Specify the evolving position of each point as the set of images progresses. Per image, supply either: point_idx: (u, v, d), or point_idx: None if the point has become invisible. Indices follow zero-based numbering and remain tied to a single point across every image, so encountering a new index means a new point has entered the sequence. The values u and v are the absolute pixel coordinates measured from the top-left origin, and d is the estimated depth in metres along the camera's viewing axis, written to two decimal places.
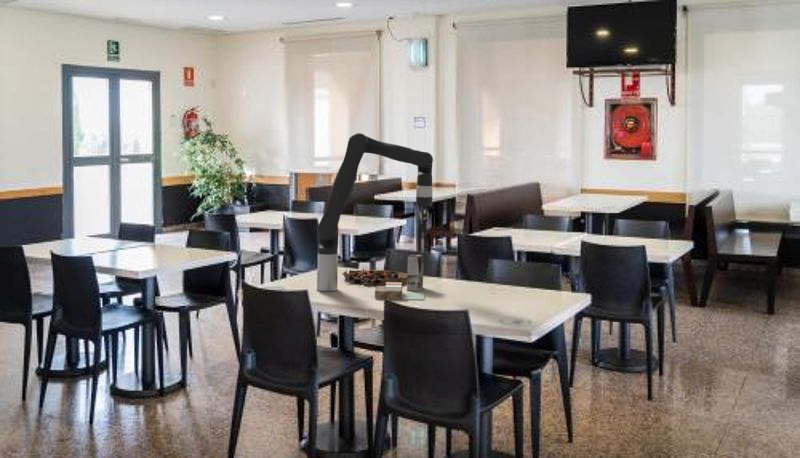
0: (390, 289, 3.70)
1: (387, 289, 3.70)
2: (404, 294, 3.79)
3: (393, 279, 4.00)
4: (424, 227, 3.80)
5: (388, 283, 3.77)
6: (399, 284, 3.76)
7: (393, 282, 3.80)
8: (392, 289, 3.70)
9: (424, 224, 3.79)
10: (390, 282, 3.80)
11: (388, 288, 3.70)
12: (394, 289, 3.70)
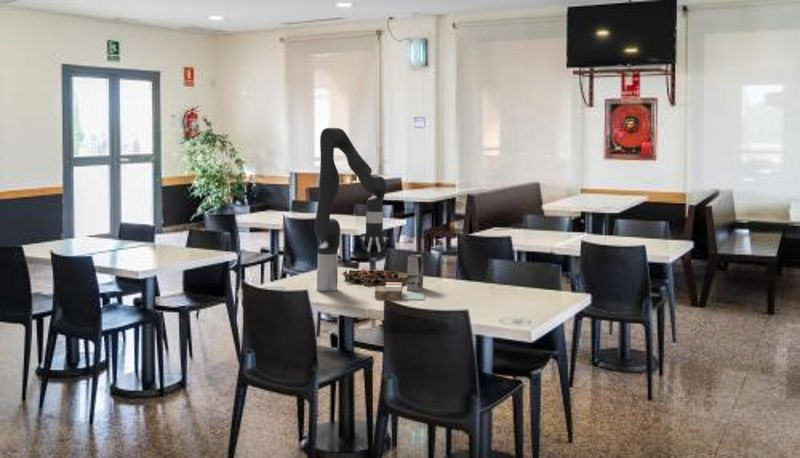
0: (390, 289, 3.70)
1: (387, 289, 3.70)
2: (404, 294, 3.79)
3: (393, 279, 4.00)
4: None
5: (388, 283, 3.77)
6: (399, 284, 3.76)
7: (393, 282, 3.80)
8: (392, 289, 3.70)
9: (380, 252, 3.70)
10: (390, 282, 3.80)
11: (388, 288, 3.70)
12: (394, 289, 3.70)
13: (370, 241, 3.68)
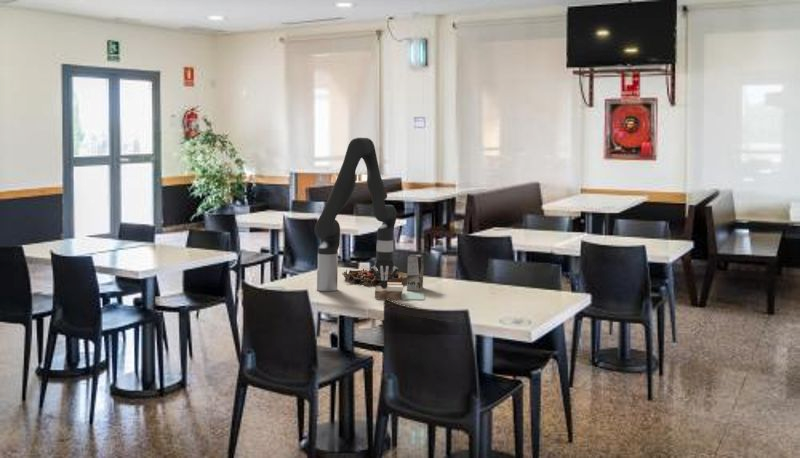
0: (391, 289, 3.70)
1: (388, 289, 3.70)
2: (404, 294, 3.79)
3: (393, 279, 4.00)
4: None
5: (388, 283, 3.77)
6: (399, 284, 3.76)
7: (393, 282, 3.80)
8: (393, 289, 3.70)
9: (387, 280, 3.71)
10: (390, 282, 3.80)
11: (389, 288, 3.70)
12: (395, 289, 3.70)
13: (381, 270, 3.69)
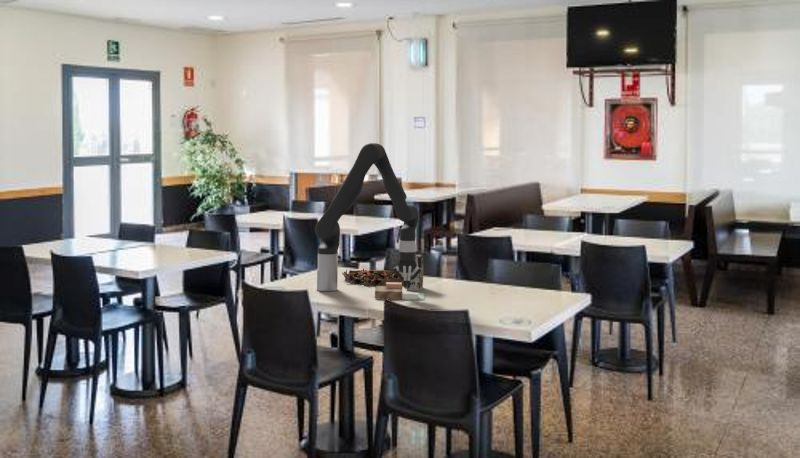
0: (407, 296, 3.70)
1: (404, 296, 3.70)
2: None
3: (393, 279, 4.00)
4: None
5: (388, 283, 3.77)
6: (399, 284, 3.76)
7: (393, 282, 3.80)
8: (409, 296, 3.70)
9: None
10: (390, 282, 3.80)
11: (405, 295, 3.70)
12: (411, 296, 3.70)
13: (404, 270, 3.69)
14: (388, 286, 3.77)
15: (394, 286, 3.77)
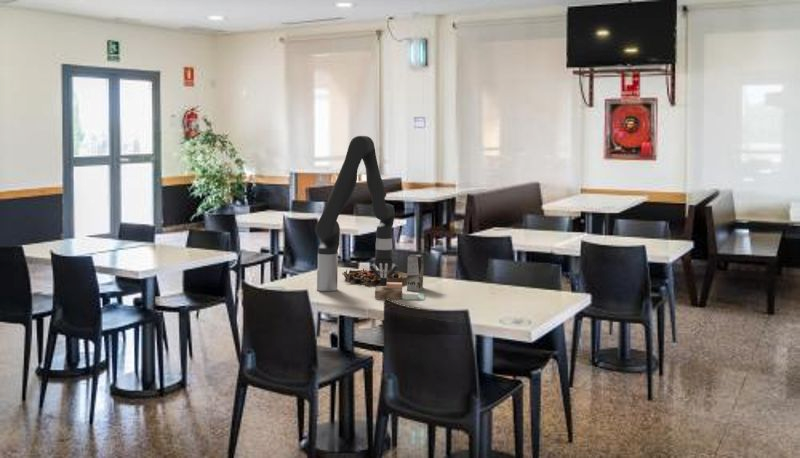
0: (407, 296, 3.70)
1: (404, 296, 3.70)
2: None
3: (393, 279, 4.00)
4: None
5: (388, 283, 3.78)
6: (399, 284, 3.76)
7: (393, 282, 3.80)
8: (409, 296, 3.70)
9: (386, 278, 3.78)
10: (390, 282, 3.80)
11: (405, 295, 3.70)
12: (411, 296, 3.70)
13: (381, 267, 3.76)
14: (388, 286, 3.77)
15: (394, 286, 3.77)
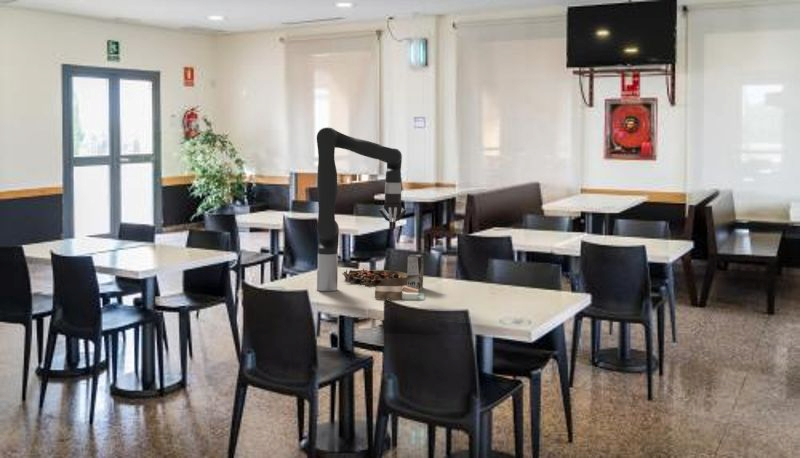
0: (407, 296, 3.70)
1: (404, 296, 3.70)
2: None
3: (393, 279, 4.00)
4: None
5: (405, 287, 3.78)
6: (416, 290, 3.77)
7: (410, 287, 3.81)
8: (409, 296, 3.70)
9: (395, 222, 3.83)
10: None
11: (405, 295, 3.70)
12: (411, 296, 3.70)
13: (390, 211, 3.81)
14: (405, 290, 3.77)
15: (410, 291, 3.77)
